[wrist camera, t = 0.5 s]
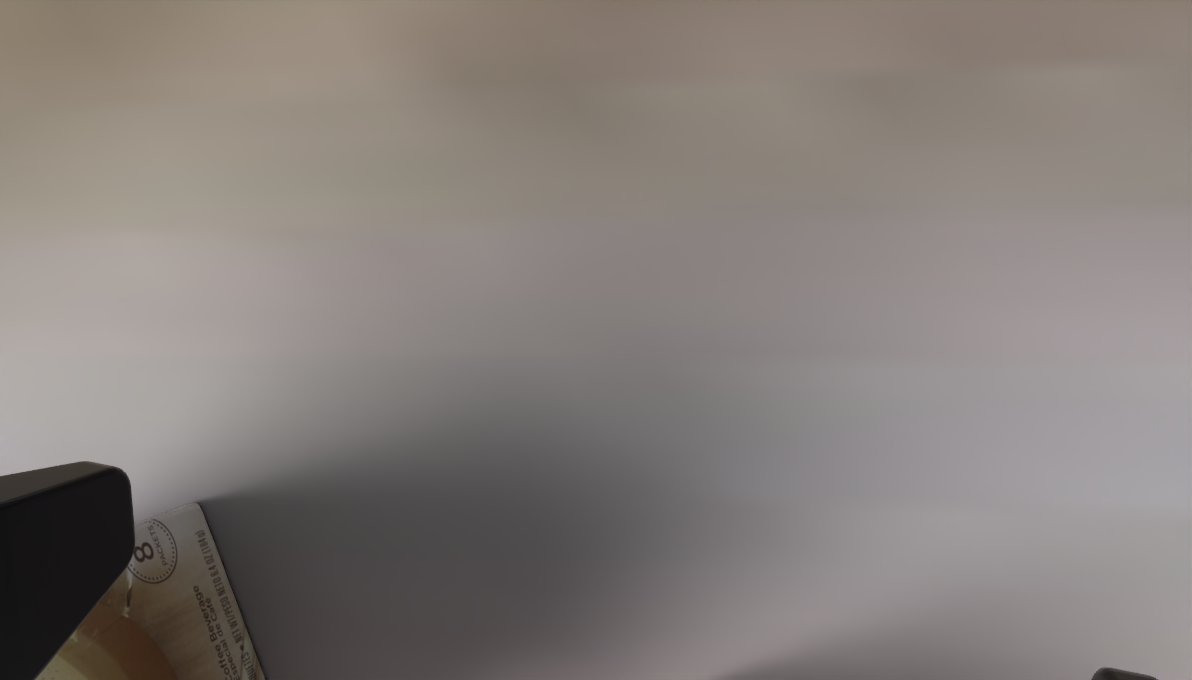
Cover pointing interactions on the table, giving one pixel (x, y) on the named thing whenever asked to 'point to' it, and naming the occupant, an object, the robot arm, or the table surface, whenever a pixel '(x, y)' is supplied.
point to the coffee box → (163, 613)
